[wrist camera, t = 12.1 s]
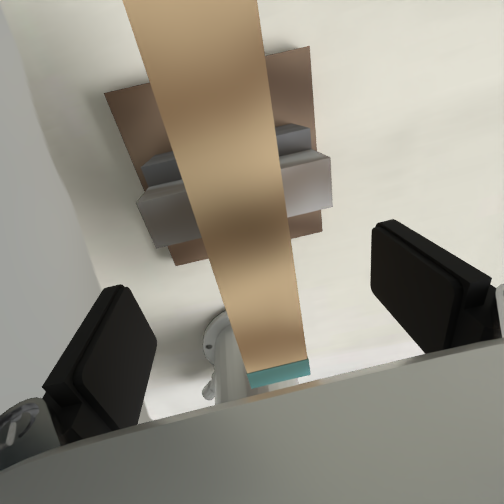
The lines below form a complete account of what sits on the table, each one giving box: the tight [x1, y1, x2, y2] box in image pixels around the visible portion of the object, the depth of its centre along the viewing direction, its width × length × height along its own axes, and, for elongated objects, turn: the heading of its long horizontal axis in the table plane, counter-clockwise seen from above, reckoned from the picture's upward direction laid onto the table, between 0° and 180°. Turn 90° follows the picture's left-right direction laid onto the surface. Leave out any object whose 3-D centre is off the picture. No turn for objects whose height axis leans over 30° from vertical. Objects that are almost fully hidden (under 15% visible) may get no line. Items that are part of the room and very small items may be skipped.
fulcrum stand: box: [104, 46, 333, 266], centre depth 21 cm, size 16×16×10 cm
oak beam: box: [123, 0, 311, 389], centre depth 14 cm, size 22×4×5 cm, turn 11°
